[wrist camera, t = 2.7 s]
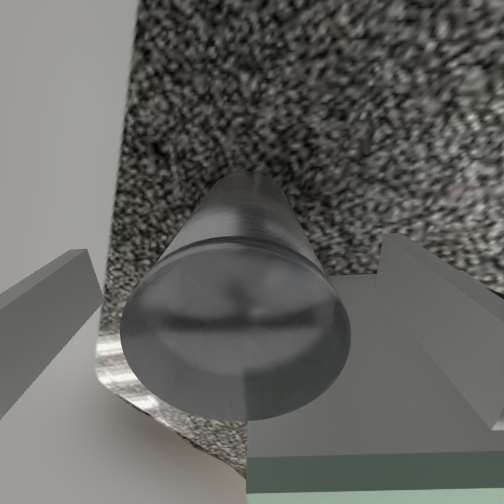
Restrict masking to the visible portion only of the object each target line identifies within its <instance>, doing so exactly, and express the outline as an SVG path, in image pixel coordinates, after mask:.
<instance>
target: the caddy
mask: <svg viewBox="0 0 504 504" xmlns="http://www.w3.org/2000/svg"><path fill="white" fill-rule="evenodd" d="M459 271H460V272H462V273H463V274H465V275H467V276H468V277H470V278H471V279H473V280H474V281H476V282H477V283H479V284H481V285H482V286H484V287H486V288H488V287H487V286H485V285H484V284H482V283H481V282H479V281H478V280H476V279H475V278H473V277H472V276H470V275H469V274H467V273H466V272H464V271H463V270H459ZM376 276H377V274H360V275H336V276H327V277H328V278H329V280H330V281H331V283H332V284H333V285H334V287H335V289H336V291H337V293H338V295H339V297H340V299H341V301H342V303H343V305H344V307H345V309H346V311H347V314H348V317H349V321H350V326H351V347H350V351H349V356H348V359H347V361H346V363H345V366H344V368H343V370H342V371H341V373H340V375H339V376H338V378H337V379H336V380H335V381H334V383H333V384H332V385H331V386H330V387H329V388H328V389H327V390H326V391H325V392H324V393H323V394H321V395H320V396H319V397H317V398H316V399H315V400H313V401H312V402H310V403H308V404H307V405H305V406H303V407H301V408H299V409H297V410H295V411H292V412H290V413H287V414H284V415H281V416H277V417H273V418H269V419H263V420H257V421H247V476H246V495H247V504H504V430H491V429H490V428H489V427H488V426H487V424H486V423H485V422H484V421H483V419H482V418H481V417H480V416H479V415H478V413H477V412H476V411H475V410H474V408H473V407H472V406H471V405H470V404H469V402H468V401H467V400H466V399H465V397H464V396H463V395H462V394H461V393H460V391H459V390H458V389H457V388H456V386H455V385H454V384H453V383H452V382H451V380H450V379H449V378H448V377H447V376H446V374H445V373H444V372H443V371H442V369H441V368H440V367H439V366H438V365H437V363H436V362H435V361H434V360H433V358H432V357H431V356H430V355H429V354H428V352H427V351H426V350H425V349H424V347H423V346H422V345H421V344H420V343H419V341H418V340H417V339H416V338H415V337H414V335H413V334H412V333H411V332H410V330H409V329H408V328H407V327H406V326H405V324H404V323H403V322H402V321H401V319H400V318H399V317H398V316H397V315H396V313H395V312H394V311H393V310H392V308H391V307H390V306H389V305H388V304H387V302H386V301H385V300H384V299H383V297H382V296H381V295H380V294H379V293H378V291H377V290H376V289H375V282H376ZM489 289H490V288H489Z"/></svg>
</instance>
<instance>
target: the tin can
mask: <svg viewBox="0 0 504 504" xmlns="http://www.w3.org/2000/svg"><path fill="white" fill-rule="evenodd" d="M120 337H121V345H122V349H123V352H124V355H125V358H126V360H127V362H128V365H129V366H130V368H131V369H132V371H133V373H134V374H135V375H136V377H137V378H138V379H139V380H140V381H141V383H142V384H143V385H144V386H145V387H146V388H147V389H149V390H150V391H151V392H152V393H153V394H155V395H156V396H157V397H159V398H160V399H161V400H163V401H165V402H167V403H168V404H170V405H172V406H174V407H176V408H178V409H180V410H182V411H185V412H188V413H190V414H193V415H197V416H200V417H204V418H209V419H214V420H221V421H239V422H244V421H257V420H263V419H269V418H273V417H277V416H281V415H284V414H287V413H290V412H292V411H295V410H297V409H299V408H301V407H303V406H305V405H307V404H308V403H310V402H312V401H313V400H315V399H316V398H317V397H319V396H320V395H321V394H323V393H324V392H325V391H326V390H327V389H328V388H329V387H330V386H331V385H332V384H333V383H334V381H335V380H336V379H337V378H338V376H339V375H340V373H341V371H342V370H343V368H344V366H345V363H346V361H347V359H348V356H349V351H350V347H351V326H350V321H349V317H348V314H347V311H346V309H345V307H344V305H343V303H342V301H341V299H340V297H339V295H338V293H337V291H336V289H335V287H334V285H333V284H332V283H331V281H330V280H329V278H328V277H327V276H326V274H325V272H324V270H323V268H322V266H321V264H320V262H319V260H318V258H317V256H316V254H315V252H314V250H313V248H312V246H311V244H310V242H309V240H308V238H307V237H306V235H305V233H304V231H303V229H302V227H301V225H300V223H299V221H298V219H297V217H296V215H295V213H294V211H293V209H292V207H291V205H290V203H289V201H288V199H287V197H286V195H285V193H284V192H283V190H282V189H281V187H280V186H279V185H278V184H277V183H276V182H275V181H273V180H272V179H271V178H269V177H267V176H265V175H263V174H261V173H257V172H252V171H239V172H234V173H231V174H228V175H226V176H224V177H223V178H221V179H219V180H218V181H217V182H216V183H215V184H214V185H213V186H212V187H211V188H210V190H209V191H208V193H207V194H206V195H205V197H204V198H203V199H202V201H201V202H200V204H199V205H198V206H197V208H196V209H195V211H194V212H193V213H192V215H191V216H190V217H189V219H188V220H187V222H186V223H185V224H184V226H183V227H182V228H181V230H180V231H179V233H178V234H177V235H176V237H175V238H174V239H173V241H172V242H171V244H170V245H169V246H168V248H167V249H166V250H165V252H164V253H163V255H162V256H161V257H160V259H159V260H158V262H157V263H156V264H155V265H154V266H153V267H152V268H151V269H150V270H149V271H148V272H147V273H146V275H145V276H144V277H143V279H142V280H141V281H140V283H139V284H138V285H137V287H136V288H135V290H134V291H133V292H132V294H131V295H130V297H129V299H128V301H127V303H126V305H125V307H124V311H123V314H122V318H121V326H120Z"/></svg>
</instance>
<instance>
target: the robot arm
mask: <svg viewBox="0 0 504 504" xmlns="http://www.w3.org/2000/svg"><path fill="white" fill-rule="evenodd" d="M375 289H376V290H377V291H378V293H379V294H380V295H381V296H382V297H383V299H384V300H385V301H386V302H387V304H388V305H389V306H390V307H391V308H392V310H393V311H394V312H395V313H396V315H397V316H398V317H399V318H400V319H401V321H402V322H403V323H404V324H405V326H406V327H407V328H408V329H409V330H410V332H411V333H412V334H413V335H414V337H415V338H416V339H417V340H418V341H419V343H420V344H421V345H422V346H423V347H424V349H425V350H426V351H427V352H428V354H429V355H430V356H431V357H432V358H433V360H434V361H435V362H436V363H437V365H438V366H439V367H440V368H441V369H442V371H443V372H444V373H445V374H446V376H447V377H448V378H449V379H450V380H451V382H452V383H453V384H454V385H455V386H456V388H457V389H458V390H459V391H460V393H461V394H462V395H463V396H464V397H465V399H466V400H467V401H468V402H469V404H470V405H471V406H472V407H473V408H474V410H475V411H476V412H477V413H478V415H479V416H480V417H481V418H482V419H483V421H484V422H485V423H486V424H487V426H488V427H489V428H490V429H491V430H504V295H503V294H501V293H498V292H496V291H493V290H491V289H489V288H486V287H484V286H482V285H481V284H479V283H477V282H476V281H474V280H473V279H471V278H470V277H468V276H467V275H465V274H463V273H462V272H460V271H459V270H457V269H456V268H454V267H453V266H451V265H450V264H448V263H446V262H445V261H443V260H442V259H440V258H439V257H437V256H436V255H434V254H433V253H431V252H429V251H428V250H426V249H425V248H423V247H422V246H420V245H419V244H417V243H416V242H414V241H412V240H411V239H409V238H408V237H406V236H405V235H403V234H402V233H394V234H383V240H382V246H381V252H380V258H379V264H378V270H377V276H376V282H375ZM103 302H104V298H103V295H102V292H101V289H100V286H99V283H98V280H97V277H96V274H95V271H94V269H93V266H92V262H91V260H90V257H89V254H88V251H87V249H76V250H69V251H67V252H66V253H64V254H62V255H61V256H59V257H58V258H56V259H55V260H53V261H52V262H50V263H49V264H47V265H45V266H44V267H42V268H41V269H39V270H37V271H36V272H34V273H33V274H31V275H30V276H28V277H26V278H25V279H23V280H22V281H20V282H19V283H17V284H16V285H14V286H13V287H11V288H9V289H8V290H6V291H5V292H3V293H2V294H0V419H1V418H2V417H3V416H4V415H5V414H6V413H7V411H8V410H9V409H10V408H11V407H12V405H14V403H15V402H16V401H17V400H18V399H19V398H20V397H21V395H22V394H23V393H24V392H25V391H26V390H27V388H28V387H29V386H30V385H31V384H32V383H33V382H34V381H35V379H36V378H37V377H38V376H39V375H40V374H41V373H42V371H43V370H44V369H45V368H46V367H47V365H49V363H50V362H51V361H52V360H53V359H54V358H55V356H56V355H57V354H58V353H59V352H60V351H61V350H62V349H63V347H64V346H65V345H66V344H67V343H68V342H69V341H70V339H71V338H72V337H73V336H74V335H75V334H76V332H77V331H78V330H79V329H80V328H81V327H82V326H83V324H84V323H85V322H86V321H87V320H88V319H89V318H90V316H91V315H92V314H93V313H94V312H95V311H96V310H97V309H98V307H99V306H100V305H101V304H102V303H103Z"/></svg>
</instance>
